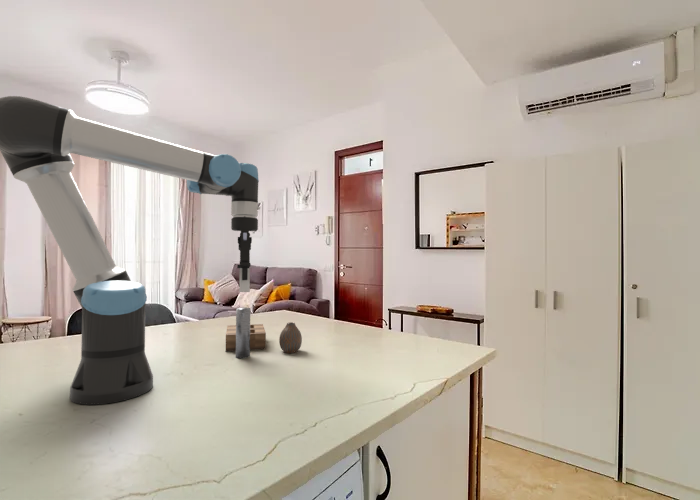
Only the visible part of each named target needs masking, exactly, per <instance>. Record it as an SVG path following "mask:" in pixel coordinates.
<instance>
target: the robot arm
mask: <svg viewBox="0 0 700 500" xmlns="http://www.w3.org/2000/svg"><path fill="white" fill-rule="evenodd" d="M0 153H1V156H2V157H3V159H4V162H5V163H6V164H7V166H8V168H9V170H10V172H11V174H12V176H13V178H14V179H16V180H18V181H20V182H23V183H25V184H26V186H27V187H28V188H29V191H30V193H31V195H32V197H33V199H34V200H35V203H36V204H37V206H38V208H39V210H40V212H41V214H42V216H43V218H44V220H45V222H46V224H47V226H48V227H49V230H50V232H51V234H52V235H53V238H54V239H55V242H56V244H57V246H58V248H59V249H60V251H61V253H62V255H63V257H64V259H65V260H66V263H67V265H68V267H69V268H70V271H71V272H72V274H73V277H74V279H75V283H74V285H73V288H72V292H73V294H74V295H75V297H76V299H77V301H78V304H79V306H80V308H81V344H80V346H81V352H80V354H81V355H80V361H79V364H78V367H77V370H76V373H75V375H74V377H73V380H72V382H71V385H70V388H69V400H70V401H71V402H72V403H75V404H79V405H89V406H90V405H105V404H112V403H118V402H123V401H127V400H130V399H133V398H136V397H140V396H142V395H143V394H146V393H148V392H149V391H150V390H152V388H153V386H154V374H153V372H152V369H151V366H150V363H149V361H148V357H147V354H146V352H145V350H146V349H145V347H146V304H147V303H146V302H147V294H146V293H147V292H146V288H145V286H144V284H142V283H140V282H137V281H132V280H131V278H130V276H129V275H128V272H127V270H126V268H122V267H119V266H117V265H116V263H115V261H114V259H113V257H112V255H111V253H110V251H109V249H108V247H107V244H106V243H105V241H104V238H103V236H102V235H101V233H100V230H99V228H98V226H97V224H96V222H95V220H94V218H93V216H92V214H91V212H90V209H89V208H88V206H87V204H86V201H85V200H84V198H83V195H82V193H81V191H80V189H79V188H78V185H77V182H76V180H75V179H74V177H73V175H72V171H73V169H74V167H75V164H76V163H74V160H73V158H72V156H71V154H74V155H77V156H84V157H87V158H91V159H96V160H100V161H104V162H107V163H113V164H118V165H121V166H127V167H131V168H135V169H138V170H143V171H147V172H152V173H157V174H160V175H165V176H169V177H173V178H178V179H182V180H186V187H187V191H188V192H190V193H193V194H195V193H196V194H200V195H202V194H204V195H214V196H215V195H218V196H226V197H231V203H230V204H231V207H230V209H231V210H230V213H231V214H230V215H231V216H232V217H231V222H230V223H231V224H230V225H231V226H230V228H231V231H235V232H240V234H239V236H237V244H238V251H239V264H237V266H236V267H237V268H236V269H239V284H238V285H239V289H238V290H239V293H250V292H251V291H250V288H251V286H250V285H251V281H250V279H251V278H250V277H251V268H250V267H251V262H250V257H251V256H250V253H251V249H252V240H253V239H252V236H251V234H250V232H257V231H258V230H259V219H258V218H257V217H258V216H259V210H261V207H260V206H259V205H258V204H259V181H260V180H259V170H258V167H257V165H255V164H253V163H248V162H239V161H238V160H237V159H236V158H235V157H234V156H232V155H231V154H229V153H221V154H215V155H214V154H212V153H208V152H203V151H200V150H196V149H193V148H189V147H187V146H186V147H185V146H184V145H183V146H182V145H180V144H174V143H171V142H168V141H165V140H161V139H157V138H154V137H150V136H146V135H143V134H140V133H136V132H132V131H129V130H125V129H121V128H118V127H115V126H111V125H108V124H103V123H100V122H97V121H93V120H91V119H86V118H84V117H83V118H82V117H79V116H77V115H76V114H75V112H74V111H73V110H72V109H69V108H66V107H62V106H59V105H55V104H52V103H48V102H44V101H42V100H38V99H34V98H30V97H26V96H22V95H21V96H17V95H8V96H3V97H0Z"/></svg>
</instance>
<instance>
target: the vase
mask: <svg viewBox="0 0 700 500" xmlns="http://www.w3.org/2000/svg"><path fill="white" fill-rule="evenodd" d="M278 341H279V347H280V349H281V350H282V351H283V352H284V353H285V354H294V353H297V352H298V351H299V350H300V348H301V347H302V343H303V336H302V333H301V330H300V329H299V328H298V326H297V325H296V323H295V322H291V321H290V322H286V325H285V327H283V329H282V330H281V332H280V335H279V339H278Z"/></svg>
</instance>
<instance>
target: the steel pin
mask: <svg viewBox="0 0 700 500" xmlns="http://www.w3.org/2000/svg"><path fill="white" fill-rule="evenodd" d="M235 325H236V351H235V358H236V359H248V358H250V357H251V356H250V355H251V350H250V325H251V307H236V309H235Z"/></svg>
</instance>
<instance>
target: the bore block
mask: <svg viewBox="0 0 700 500" xmlns="http://www.w3.org/2000/svg"><path fill="white" fill-rule="evenodd" d="M265 329H266V328H265V326H264V323H258V324H250V351H255V350H266V349H267V347H266V345H267V341H266V339H267V338H266V337H267V335H266V334H267V333H266V330H265ZM225 352H236V324H230V325H226V332H225Z"/></svg>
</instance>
